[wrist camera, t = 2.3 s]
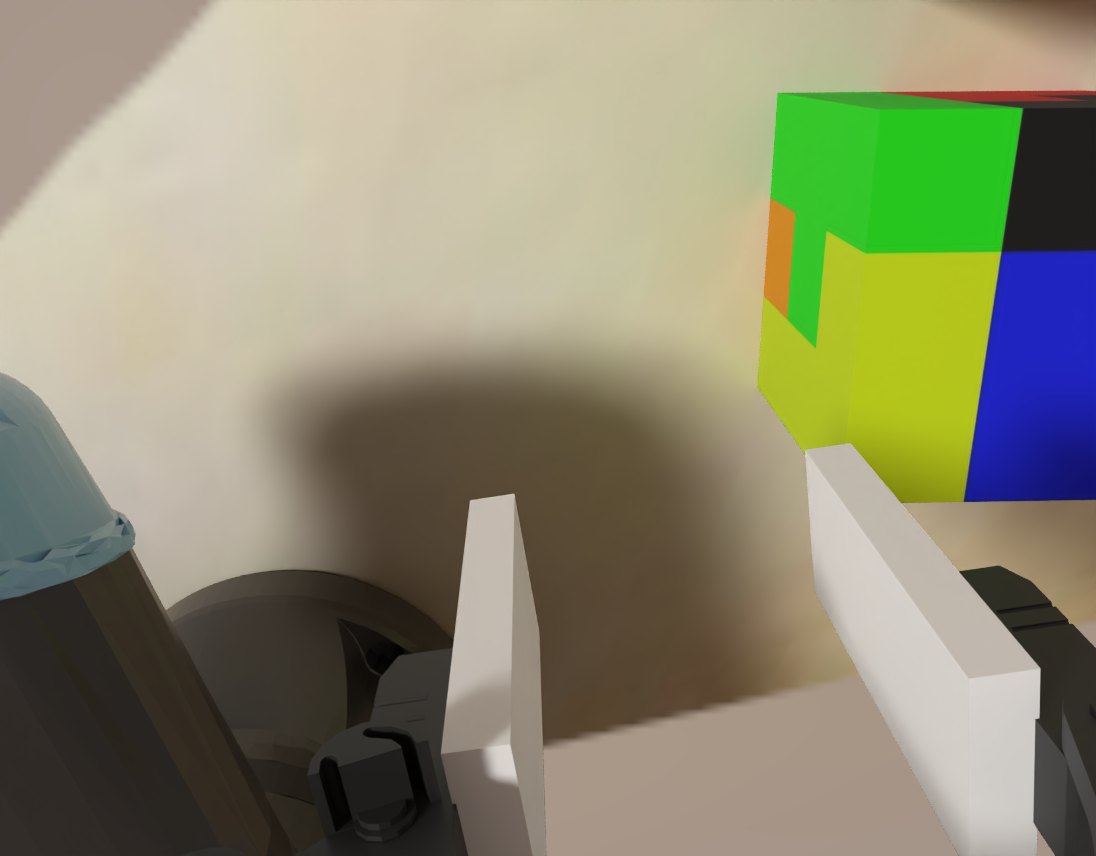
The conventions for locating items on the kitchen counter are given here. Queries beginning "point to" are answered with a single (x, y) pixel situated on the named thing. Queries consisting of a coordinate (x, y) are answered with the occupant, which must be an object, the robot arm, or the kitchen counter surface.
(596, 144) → the kitchen counter surface
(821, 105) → the puzzle toy
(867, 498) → the robot arm
